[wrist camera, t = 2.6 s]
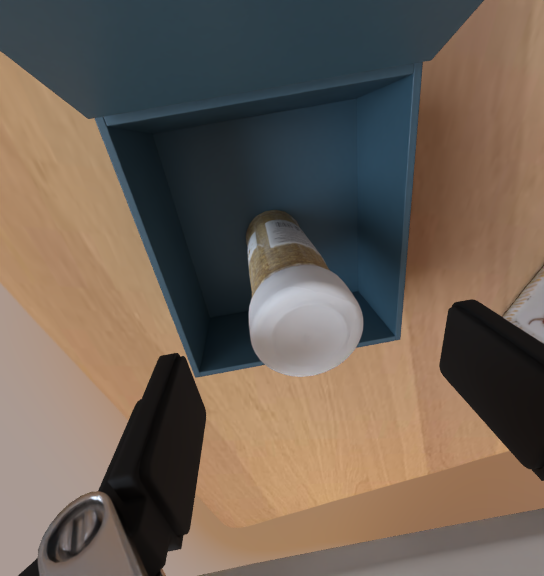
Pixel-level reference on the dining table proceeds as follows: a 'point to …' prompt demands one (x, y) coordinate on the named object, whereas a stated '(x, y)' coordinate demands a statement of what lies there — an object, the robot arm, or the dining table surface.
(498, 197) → the dining table surface
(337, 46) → the flap
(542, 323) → the decorative jar
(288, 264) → the spice jar
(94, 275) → the dining table surface
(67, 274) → the dining table surface
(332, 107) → the carton
